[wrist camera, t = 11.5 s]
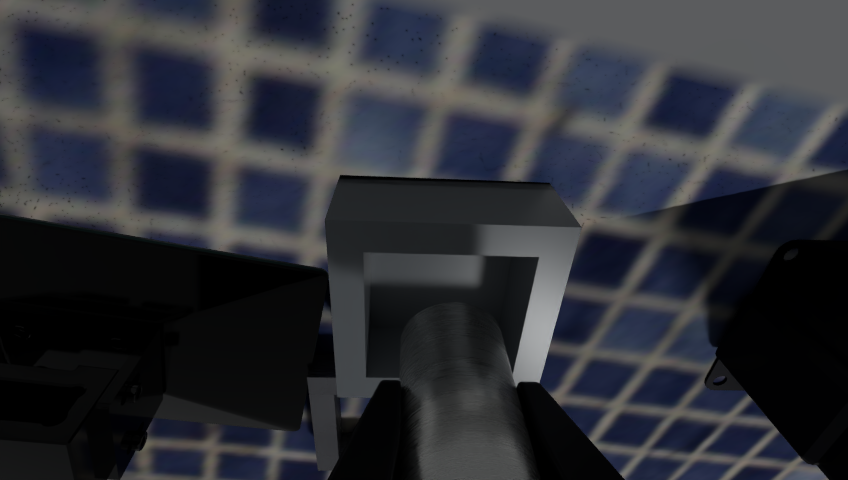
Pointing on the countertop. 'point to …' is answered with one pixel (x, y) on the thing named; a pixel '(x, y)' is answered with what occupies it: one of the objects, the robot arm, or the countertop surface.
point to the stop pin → (460, 400)
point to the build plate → (141, 344)
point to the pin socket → (326, 412)
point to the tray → (443, 266)
